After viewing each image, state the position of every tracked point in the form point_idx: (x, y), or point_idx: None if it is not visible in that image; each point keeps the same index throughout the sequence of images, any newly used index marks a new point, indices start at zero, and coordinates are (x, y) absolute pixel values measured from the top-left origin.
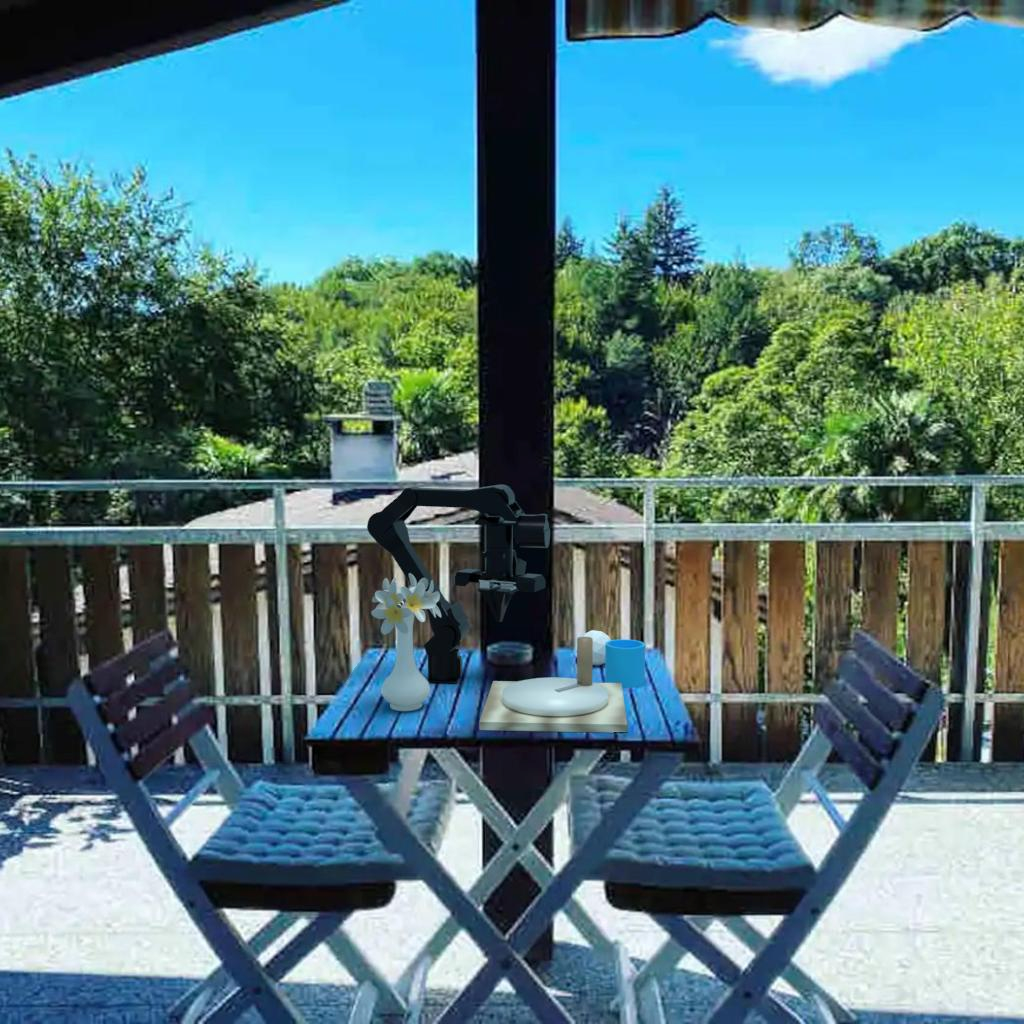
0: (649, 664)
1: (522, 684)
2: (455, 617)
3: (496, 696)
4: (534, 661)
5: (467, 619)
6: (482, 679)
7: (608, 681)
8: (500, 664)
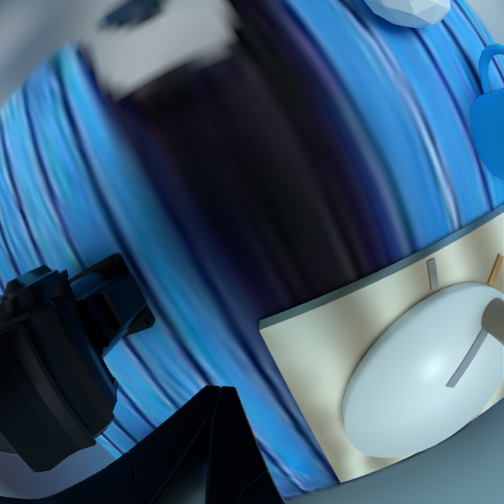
0: (463, 5)
1: (377, 391)
2: (62, 448)
3: (323, 414)
4: (230, 25)
5: (33, 344)
6: (187, 258)
7: (490, 166)
8: (155, 95)
